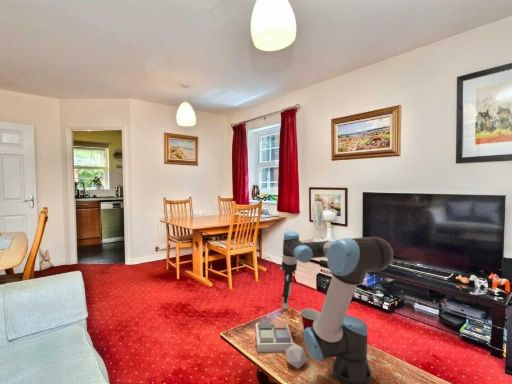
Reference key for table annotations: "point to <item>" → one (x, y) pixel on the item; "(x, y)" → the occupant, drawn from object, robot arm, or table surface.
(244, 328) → the table surface
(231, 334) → the table surface
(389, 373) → the table surface
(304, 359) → the die
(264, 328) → the key charcoal
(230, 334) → the table surface
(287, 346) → the keypad
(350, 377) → the robot arm
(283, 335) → the key slate
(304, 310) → the plastic cup
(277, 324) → the key terracotta
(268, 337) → the key sage
